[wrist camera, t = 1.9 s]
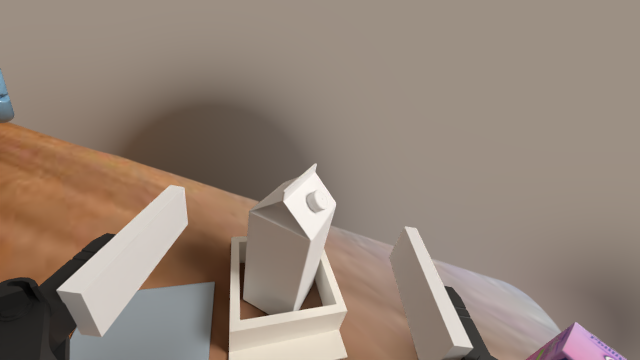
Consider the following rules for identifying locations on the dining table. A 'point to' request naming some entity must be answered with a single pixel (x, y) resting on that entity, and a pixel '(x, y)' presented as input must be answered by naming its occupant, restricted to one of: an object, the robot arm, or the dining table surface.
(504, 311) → the dining table surface
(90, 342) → the mat
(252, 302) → the milk carton
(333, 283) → the white tray
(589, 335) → the box
